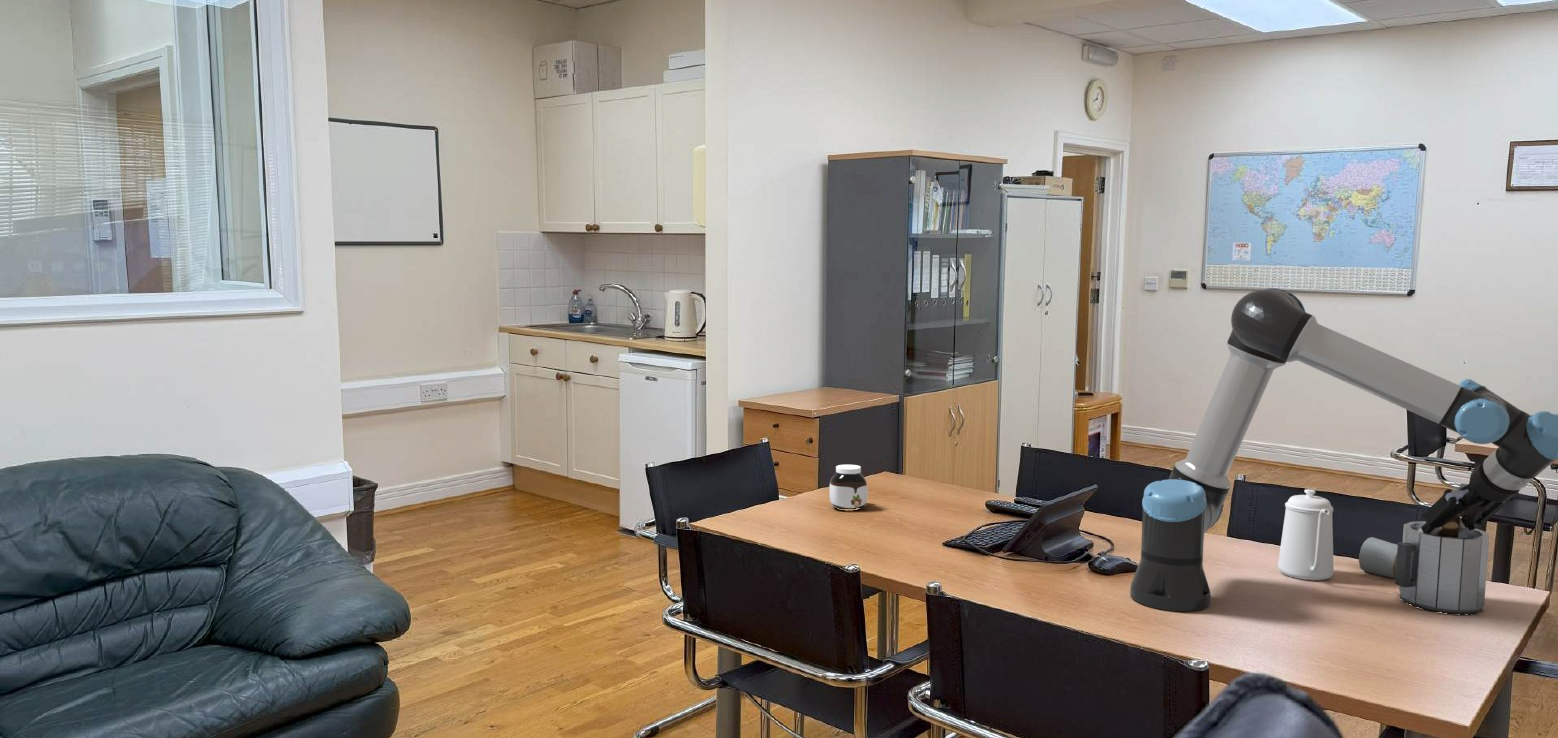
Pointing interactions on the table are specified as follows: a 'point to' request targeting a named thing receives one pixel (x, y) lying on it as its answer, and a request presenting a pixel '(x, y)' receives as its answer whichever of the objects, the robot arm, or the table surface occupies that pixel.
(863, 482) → the spread jar
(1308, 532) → the coffeepot
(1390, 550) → the ceramic mug
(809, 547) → the table surface
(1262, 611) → the table surface
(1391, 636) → the table surface
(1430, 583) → the grey panelled tankard
